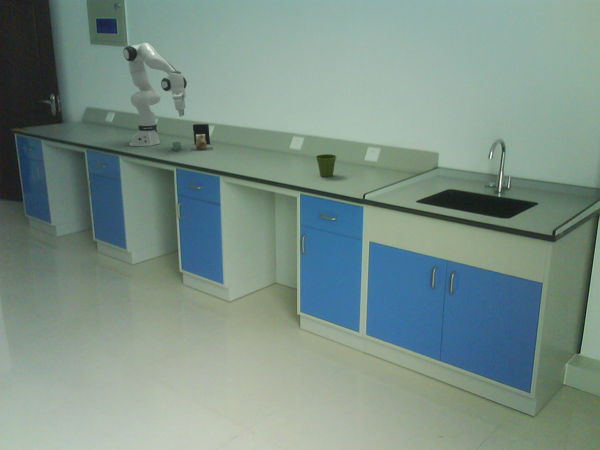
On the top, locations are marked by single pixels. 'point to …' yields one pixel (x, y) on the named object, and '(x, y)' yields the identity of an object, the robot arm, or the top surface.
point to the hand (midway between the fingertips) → (181, 116)
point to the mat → (201, 150)
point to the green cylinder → (176, 146)
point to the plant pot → (326, 164)
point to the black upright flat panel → (201, 131)
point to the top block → (200, 138)
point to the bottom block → (201, 146)
